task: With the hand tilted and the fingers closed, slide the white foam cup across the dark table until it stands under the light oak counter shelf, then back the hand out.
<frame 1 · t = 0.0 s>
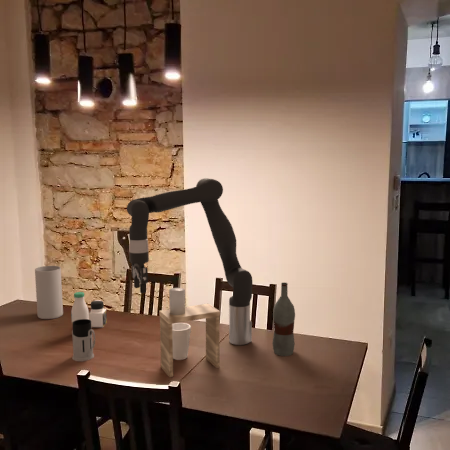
hand: (140, 290, 204), 29 cm above the table, tool pointing down, fingers open, 8 cm apart
medicine bottle: (97, 325, 249), on the table
cylinder vase: (50, 316, 263), on the table
foam cup: (179, 357, 211), on the table
glass holder: (86, 359, 209), on the table
counter shelf: (190, 367, 201), on the table
milk bottle: (80, 335, 236), on the table
beige upright cylinder: (177, 312, 195), point 23 cm above the table, touching counter shelf
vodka: (283, 352, 215), on the table
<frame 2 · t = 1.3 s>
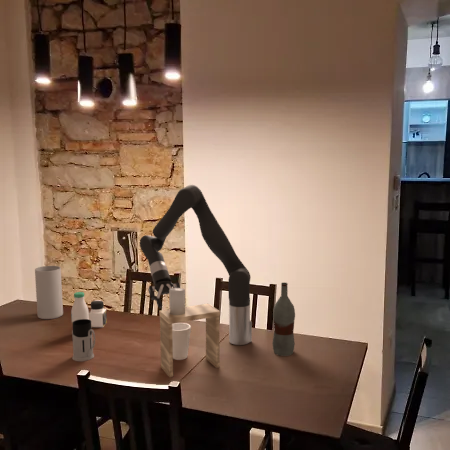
hand: (169, 306, 218), 19 cm above the table, tool tilted 45°, fingers open, 7 cm apart
nothing on the table moved.
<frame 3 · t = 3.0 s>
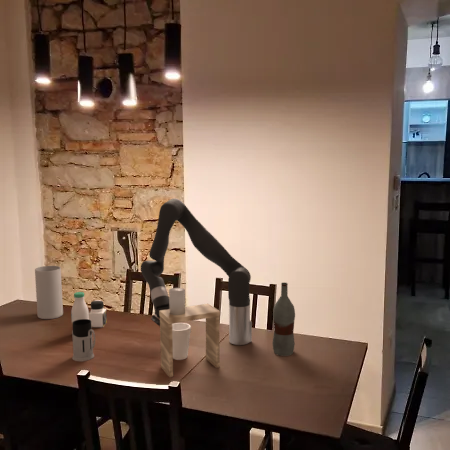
hand: (170, 334, 219), 6 cm above the table, tool tilted 45°, fingers closed
nothing on the table moved.
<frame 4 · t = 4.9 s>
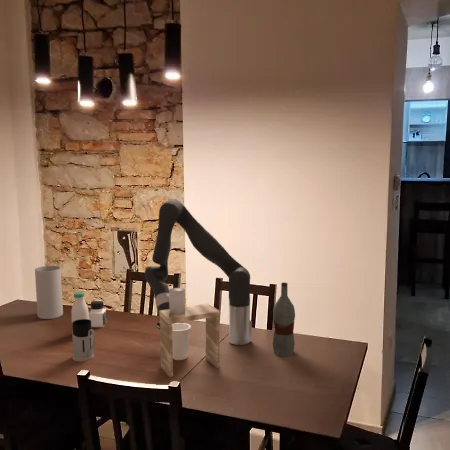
hand: (175, 341, 215), 5 cm above the table, tool tilted 45°, fingers closed
foam cup: (179, 357, 211), on the table, touching gripper
everything else where it was.
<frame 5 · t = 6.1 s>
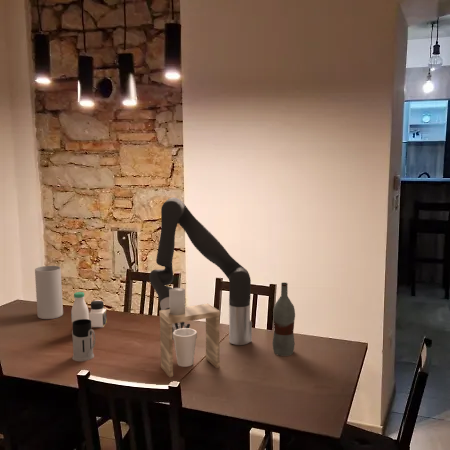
hand: (181, 347, 208), 5 cm above the table, tool tilted 45°, fingers closed
foam cup: (185, 363, 204), on the table, touching gripper
everything else where it was.
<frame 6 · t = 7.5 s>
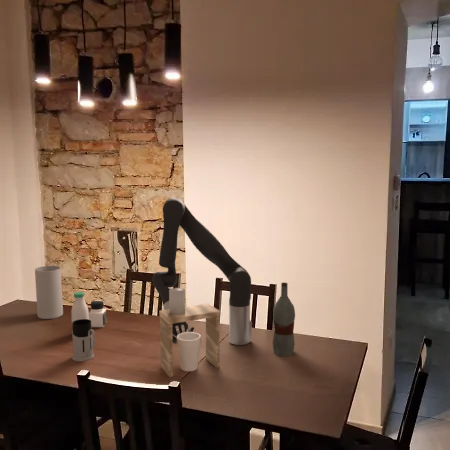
hand: (185, 351, 204), 5 cm above the table, tool tilted 45°, fingers closed
foam cup: (189, 368, 200), on the table, touching gripper
everything else where it was.
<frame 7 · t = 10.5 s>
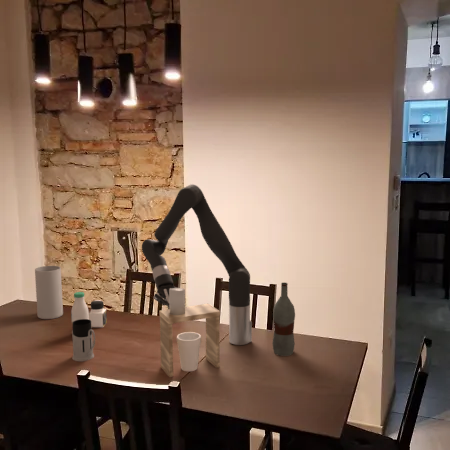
hand: (173, 312, 215), 17 cm above the table, tool tilted 45°, fingers closed
foam cup: (189, 368, 200), on the table
everything else where it was.
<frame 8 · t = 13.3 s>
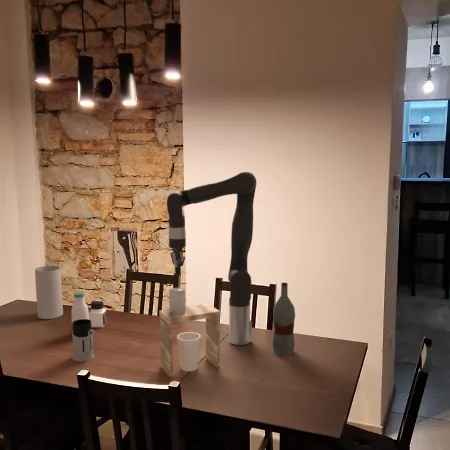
hand: (177, 274, 230), 29 cm above the table, tool pointing down, fingers closed
nothing on the table moved.
at the end: foam cup inside the target area on the counter shelf (0.7 cm from its centre), point 0.0 cm above the counter shelf's base; foam cup tilted 0°; beige upright cylinder moved 0.0 cm from its start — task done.
